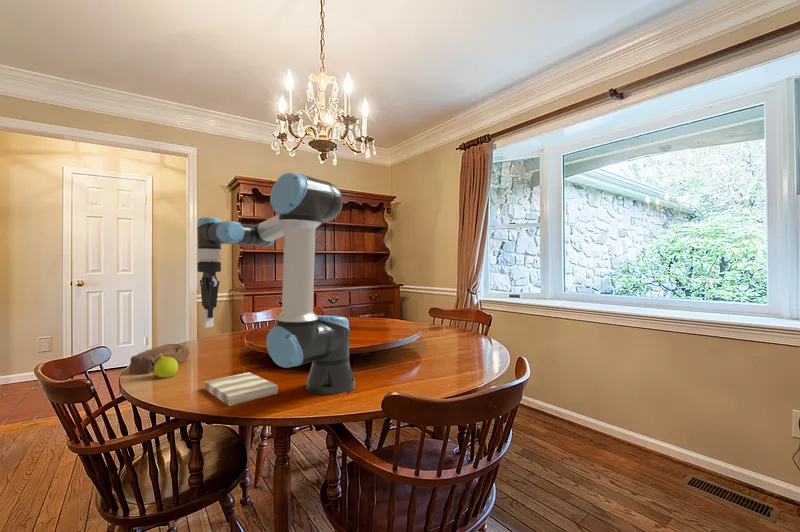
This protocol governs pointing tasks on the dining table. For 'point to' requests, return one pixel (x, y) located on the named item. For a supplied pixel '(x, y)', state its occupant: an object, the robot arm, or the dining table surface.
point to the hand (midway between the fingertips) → (209, 326)
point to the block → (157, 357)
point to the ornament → (165, 367)
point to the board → (240, 388)
